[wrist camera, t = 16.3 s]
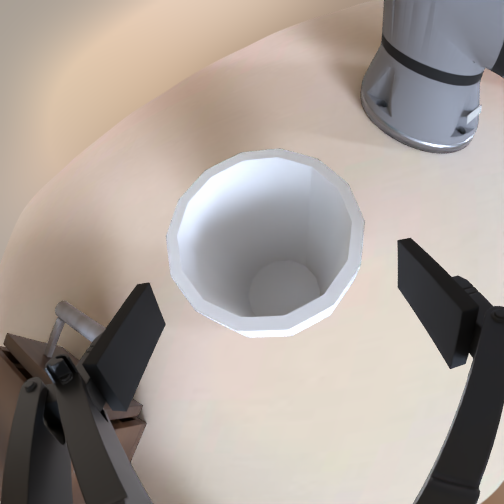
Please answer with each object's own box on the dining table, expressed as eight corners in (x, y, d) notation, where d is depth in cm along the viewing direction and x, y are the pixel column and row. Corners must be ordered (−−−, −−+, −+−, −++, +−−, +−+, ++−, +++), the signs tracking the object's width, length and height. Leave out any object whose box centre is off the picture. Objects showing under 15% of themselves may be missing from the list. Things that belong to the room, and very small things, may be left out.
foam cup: (211, 322, 27) (134, 278, 15) (257, 230, 29) (220, 134, 17) (314, 369, 24) (319, 366, 12) (356, 267, 26) (387, 181, 14)
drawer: (80, 301, 29) (27, 278, 22) (165, 353, 25) (114, 342, 18) (31, 443, 23) (-20, 445, 16) (102, 507, 20) (52, 528, 13)
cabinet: (59, 358, 28) (-9, 343, 19) (146, 423, 24) (79, 435, 15) (29, 455, 24) (-31, 459, 15) (106, 523, 20) (47, 551, 11)
